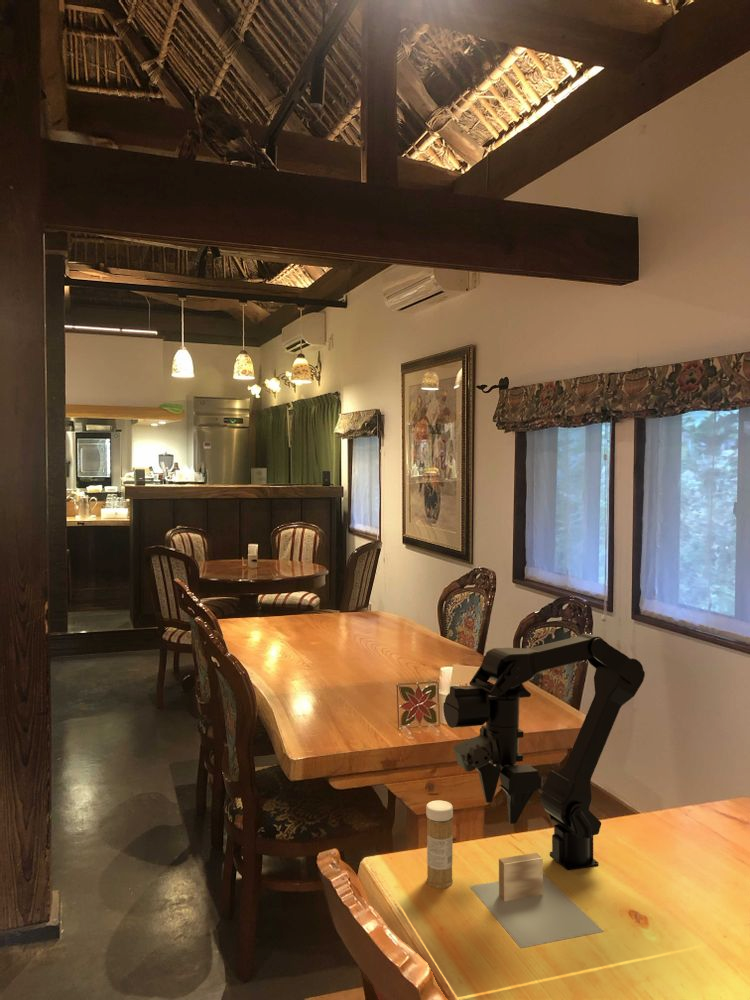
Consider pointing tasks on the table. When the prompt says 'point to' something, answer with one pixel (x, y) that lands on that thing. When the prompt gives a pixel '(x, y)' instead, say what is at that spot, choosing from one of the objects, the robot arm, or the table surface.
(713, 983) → the table surface
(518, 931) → the slate mat
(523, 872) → the walnut tile
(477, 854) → the table surface
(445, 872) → the sprinkles bottle
